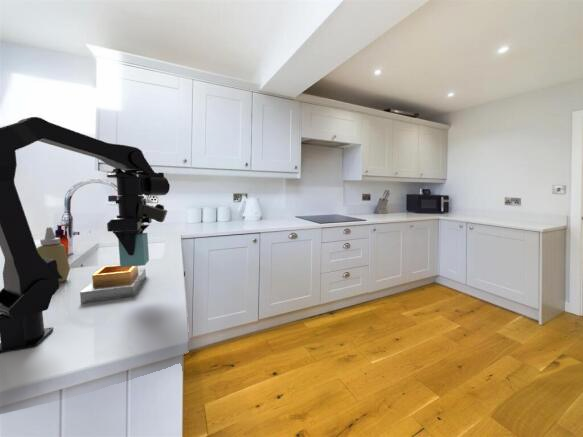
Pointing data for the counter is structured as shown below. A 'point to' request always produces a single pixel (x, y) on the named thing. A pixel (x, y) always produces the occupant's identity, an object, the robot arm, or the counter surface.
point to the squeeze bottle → (54, 252)
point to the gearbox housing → (113, 283)
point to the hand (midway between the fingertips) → (134, 252)
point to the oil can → (140, 252)
